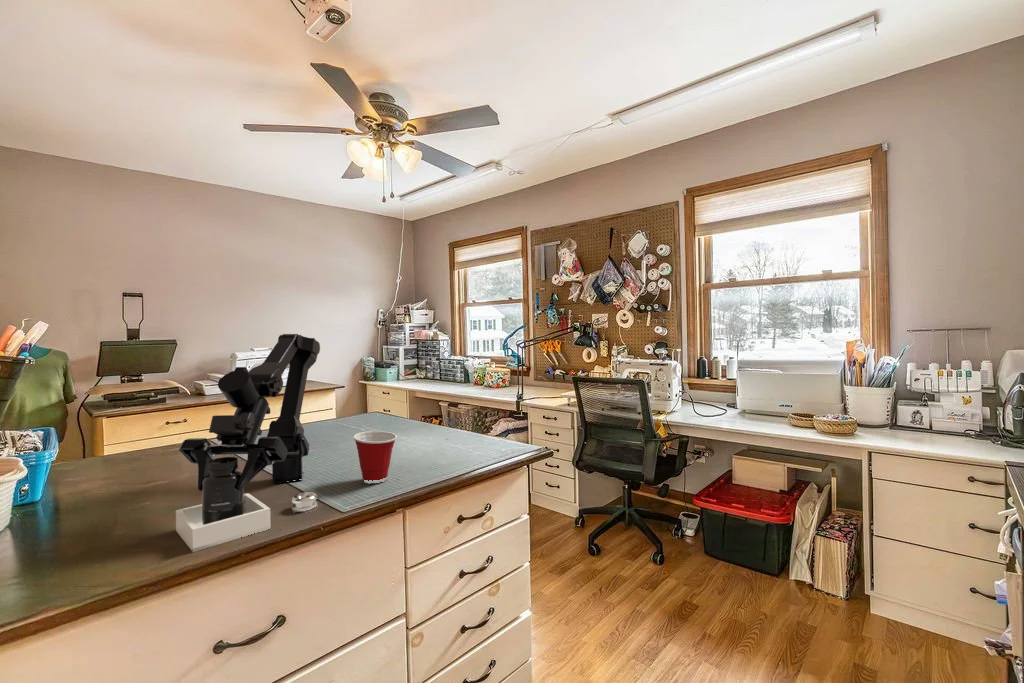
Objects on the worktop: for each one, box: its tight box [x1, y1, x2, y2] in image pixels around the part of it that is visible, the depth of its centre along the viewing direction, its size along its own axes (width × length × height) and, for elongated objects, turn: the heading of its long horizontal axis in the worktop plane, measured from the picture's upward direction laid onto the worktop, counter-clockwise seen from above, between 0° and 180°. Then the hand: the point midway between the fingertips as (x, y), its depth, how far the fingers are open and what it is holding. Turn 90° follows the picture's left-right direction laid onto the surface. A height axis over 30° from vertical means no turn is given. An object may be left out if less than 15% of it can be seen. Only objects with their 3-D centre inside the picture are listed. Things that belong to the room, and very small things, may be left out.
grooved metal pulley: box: [291, 491, 318, 512], centre depth 98 cm, size 5×3×5 cm
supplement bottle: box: [201, 456, 245, 525], centre depth 87 cm, size 7×7×12 cm
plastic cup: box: [353, 430, 398, 481], centre depth 116 cm, size 11×11×12 cm
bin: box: [175, 493, 272, 553], centre depth 87 cm, size 13×13×4 cm
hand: (219, 489), depth 86 cm, fingers closed on supplement bottle, 7 cm apart
